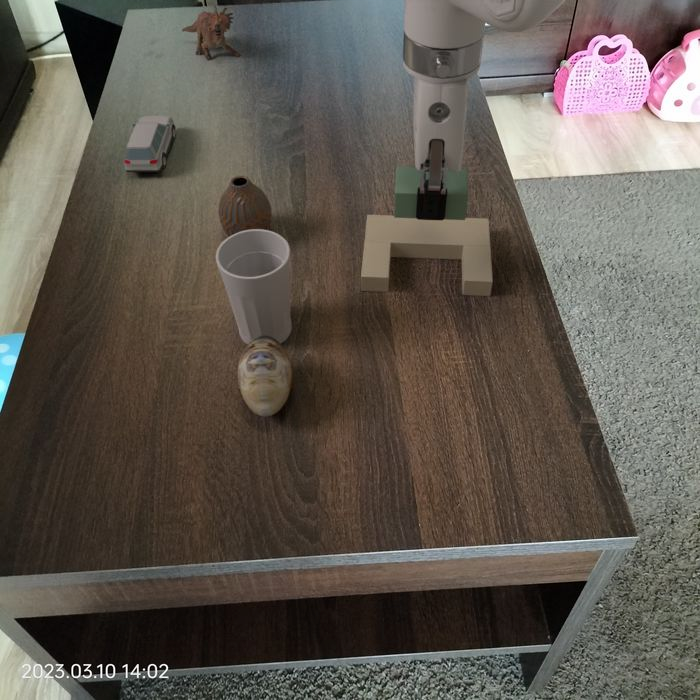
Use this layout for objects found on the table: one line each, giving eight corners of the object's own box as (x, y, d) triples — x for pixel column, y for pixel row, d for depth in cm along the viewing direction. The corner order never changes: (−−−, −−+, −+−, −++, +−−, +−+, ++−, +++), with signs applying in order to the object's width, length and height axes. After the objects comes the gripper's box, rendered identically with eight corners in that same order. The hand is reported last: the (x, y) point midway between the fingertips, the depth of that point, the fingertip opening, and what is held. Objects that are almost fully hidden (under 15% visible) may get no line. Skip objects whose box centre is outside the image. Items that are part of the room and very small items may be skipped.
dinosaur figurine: (250, 60, 130) (243, 7, 123) (223, 71, 127) (214, 19, 120) (207, 34, 137) (198, -17, 130) (180, 45, 134) (170, -7, 127)
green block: (464, 193, 85) (467, 167, 82) (465, 220, 82) (468, 195, 79) (395, 190, 85) (396, 165, 83) (393, 217, 82) (394, 192, 80)
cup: (307, 341, 86) (300, 266, 76) (242, 361, 84) (226, 287, 75) (286, 297, 90) (276, 221, 81) (224, 315, 89) (207, 240, 80)
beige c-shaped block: (486, 233, 97) (488, 218, 96) (490, 296, 90) (492, 281, 88) (367, 229, 99) (367, 214, 97) (361, 291, 91) (360, 276, 89)
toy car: (179, 130, 116) (173, 101, 112) (163, 179, 107) (156, 150, 103) (144, 130, 116) (136, 102, 112) (125, 179, 107) (116, 150, 104)
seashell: (295, 429, 77) (288, 382, 71) (241, 433, 77) (230, 386, 71) (293, 361, 84) (287, 313, 78) (244, 364, 83) (233, 316, 77)
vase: (252, 211, 102) (244, 158, 95) (284, 234, 98) (278, 180, 92) (213, 234, 99) (201, 181, 92) (245, 258, 95) (235, 205, 89)
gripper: (485, 97, 64) (464, 253, 77) (479, 9, 75) (462, 159, 88) (399, 95, 64) (394, 250, 78) (405, 8, 75) (400, 157, 89)
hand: (430, 200), depth 83 cm, fingers closed on green block, 5 cm apart
